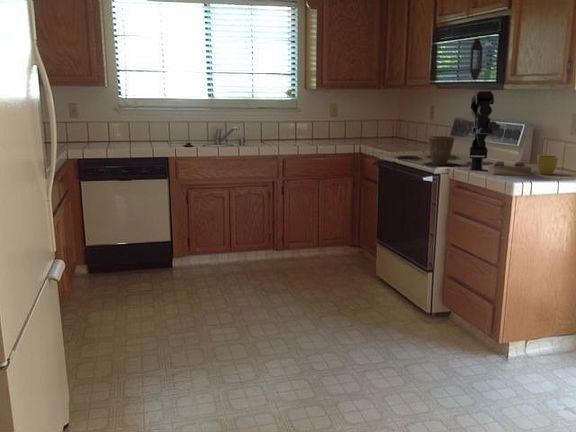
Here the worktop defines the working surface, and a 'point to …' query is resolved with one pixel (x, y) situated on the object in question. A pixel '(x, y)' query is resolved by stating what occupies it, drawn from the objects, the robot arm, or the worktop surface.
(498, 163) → the knob
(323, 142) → the worktop surface
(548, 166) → the flower pot
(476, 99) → the robot arm
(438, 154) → the plant pot
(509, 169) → the mount
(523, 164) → the knob
